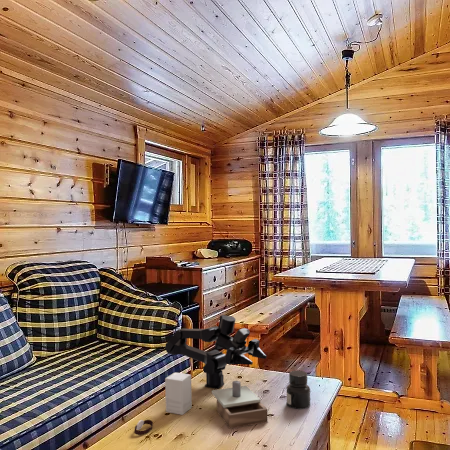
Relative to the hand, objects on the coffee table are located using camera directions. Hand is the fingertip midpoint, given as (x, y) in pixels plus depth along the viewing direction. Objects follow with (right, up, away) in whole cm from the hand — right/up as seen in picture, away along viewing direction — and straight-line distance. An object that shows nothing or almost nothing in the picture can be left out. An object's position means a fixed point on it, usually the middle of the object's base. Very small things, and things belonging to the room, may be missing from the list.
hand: (259, 360), depth 177 cm
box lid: (-10, -11, -9) cm, 17 cm away
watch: (-41, -17, -25) cm, 50 cm away
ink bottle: (+15, -16, -5) cm, 22 cm away
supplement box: (-31, -16, -8) cm, 36 cm away
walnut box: (-7, -16, -15) cm, 23 cm away
